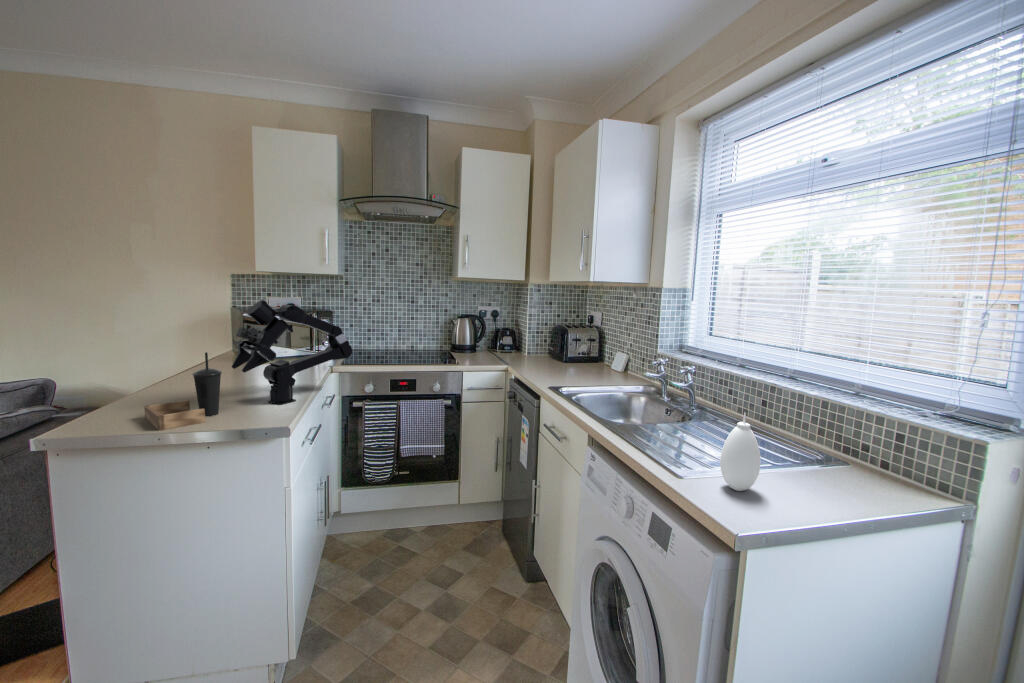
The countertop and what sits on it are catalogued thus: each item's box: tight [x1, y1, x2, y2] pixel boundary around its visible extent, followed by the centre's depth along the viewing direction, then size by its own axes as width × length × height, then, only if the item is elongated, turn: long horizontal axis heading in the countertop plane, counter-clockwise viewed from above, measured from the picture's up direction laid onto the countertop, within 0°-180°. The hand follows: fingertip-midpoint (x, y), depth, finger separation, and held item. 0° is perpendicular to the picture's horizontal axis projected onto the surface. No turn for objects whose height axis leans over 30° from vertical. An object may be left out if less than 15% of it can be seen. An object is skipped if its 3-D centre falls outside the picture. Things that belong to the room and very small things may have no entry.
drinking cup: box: [191, 352, 222, 417], centre depth 141 cm, size 8×8×20 cm
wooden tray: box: [143, 399, 206, 431], centre depth 135 cm, size 11×15×4 cm
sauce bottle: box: [719, 412, 762, 492], centre depth 100 cm, size 8×8×18 cm
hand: (237, 369), depth 147 cm, fingers open, 8 cm apart
